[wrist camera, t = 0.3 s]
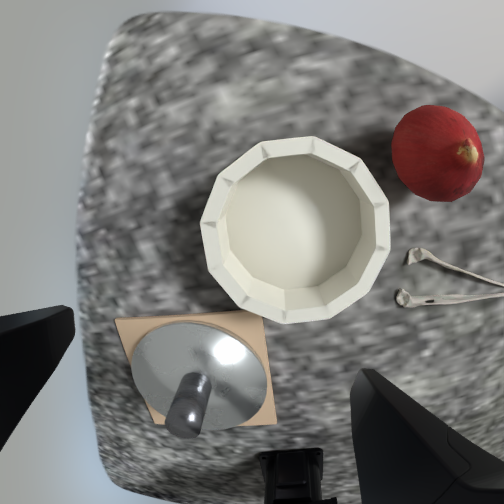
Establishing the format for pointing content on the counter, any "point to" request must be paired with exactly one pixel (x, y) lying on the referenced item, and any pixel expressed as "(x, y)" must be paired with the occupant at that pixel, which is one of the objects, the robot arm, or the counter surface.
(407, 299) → the tweezers
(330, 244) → the bowl
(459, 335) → the counter surface
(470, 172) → the onion
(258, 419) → the mat
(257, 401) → the lid
